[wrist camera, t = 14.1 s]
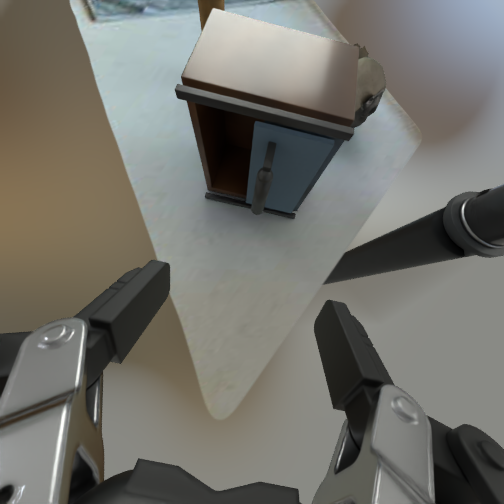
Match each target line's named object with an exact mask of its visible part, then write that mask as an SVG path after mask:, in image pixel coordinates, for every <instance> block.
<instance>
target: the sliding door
mask: <svg viewBox="0 0 504 504" xmlns="http://www.w3.org/2000/svg"><path fill="white" fill-rule="evenodd" d="M333 146H334V140H331V139H327V138H323V137H319V136H315V135H311V134H307V133H303V132H299V131H295V130H291V129H287V128H283V127H279V126H275V125H271V124H267V123H263V122H259V121H255V124H254V132H253V141H252V151H251V160H250V169H249V178H248V188H247V197H246V203H249V204H252V206H251V211H252V213H253V214H255V215H259V214H261V213H262V212H263V209H264V207H266V208H270V209H275V210H279V211H283V212H287V213H292V211H293V210H294V208H295V206H296V205H297V203H298V202H299V200H300V198H301V197H302V195H303V194H304V192H305V191H306V189H307V187H308V186H309V184H310V183H311V181H312V179H313V178H314V176H315V175H316V173H317V172H318V170H319V168H320V167H321V165H322V164H323V162H324V160H325V159H326V157H327V156H328V154H329V153H330V151H331V149H332V148H333Z"/></svg>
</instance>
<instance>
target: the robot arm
mask: <svg viewBox="0 0 504 504" xmlns="http://www.w3.org/2000/svg"><path fill="white" fill-rule="evenodd" d="M477 194H479V195H477ZM477 194H475V195H477V196H473V197H471V198H469V199H466V200H465V201H464V202H463V203H462V204H461V206H460V208H459V218H460V222H461V224H462V226H463V228H464V230H465V231H466V233H467V234H468V235H469V236H470V237H471V238H472V239H473V240H475V241H476V242H477V243H479V244H481V245H483V246H485V247H488V248H494V249H495V248H502V247H504V184H502V185H500V186H497V187H495V188H493V189H487V190H484V191H482V192H479V193H477ZM169 291H170V265H169V263H165V262H161V261H156V260H151V261H150V262H149V263H148V264H146V265H145V266H144V267H143V268H136V269H134V270H131V271H129V272H127V273H125V274H124V275H123V276H122V277H121V278H119V279H118V280H117V282H115V283H114V284H112V285H111V286H110V287H109V289H106V290H105V291H104V292H103V293H102V294H100V295H99V296H98V297H97V298H96V299H94V300H93V301H92V302H91V303H90V304H89V305H88V306H86V307H85V308H84V309H82V310H81V311H80V312H79V313H78V314H77V315H75V316H74V317H73V318H63V319H59V320H55V321H52V322H49V323H47V324H45V325H43V326H41V327H39V328H38V329H36V330H35V331H32V332H19V333H4V334H0V504H301V503H300V502H299V491H298V489H295V488H290V487H285V486H280V485H275V484H269V483H264V482H256V483H252V484H248V485H244V486H240V487H235V488H231V489H227V490H223V491H215V490H213V489H211V488H210V487H208V486H207V485H205V484H204V483H202V482H201V481H200V480H198V479H197V478H195V477H194V476H192V475H191V474H189V473H188V472H186V471H185V470H183V469H182V468H181V467H179V466H175V465H170V464H165V463H160V462H154V461H149V460H144V459H138V460H137V463H136V465H135V467H134V469H133V470H128V471H125V472H122V473H120V474H117V475H115V476H113V477H111V478H109V479H107V480H105V481H104V447H103V440H102V397H103V370H104V369H105V368H106V366H107V365H108V364H109V362H115V363H120V364H121V363H122V361H123V360H124V359H125V357H126V356H127V354H128V353H129V352H130V350H131V349H132V347H133V346H134V344H135V343H136V341H137V340H138V339H139V337H140V336H141V334H142V333H143V332H144V330H145V329H146V327H147V326H148V324H149V323H150V322H151V320H152V319H153V317H154V316H155V314H156V313H157V312H158V310H159V309H160V307H161V306H162V305H163V303H164V302H165V300H166V299H167V297H168V294H169ZM314 333H315V337H316V341H317V345H318V349H319V352H320V357H321V361H322V365H323V369H324V373H325V376H326V381H327V385H328V389H329V392H330V397H331V401H332V405H333V409H337V410H342V411H345V413H346V416H347V419H346V420H345V421H344V423H343V426H342V430H341V433H340V436H339V439H338V442H337V445H336V448H335V451H334V454H333V457H332V460H331V463H330V466H329V469H328V472H327V475H326V477H325V479H324V480H323V482H322V483H321V485H320V486H319V488H318V490H317V492H316V494H315V496H314V499H313V501H312V504H504V449H503V448H502V447H501V446H500V445H499V444H498V443H497V442H495V441H494V440H493V439H492V438H491V437H490V436H488V435H487V434H486V433H484V432H483V431H481V430H479V429H478V428H476V427H474V426H471V425H467V424H463V425H461V426H459V427H457V428H455V429H451V428H449V427H448V426H445V425H444V424H442V423H440V422H438V421H436V420H434V419H433V418H431V417H429V416H427V415H426V414H425V412H424V411H423V409H422V408H421V406H420V405H419V404H418V403H417V402H416V401H415V400H414V399H413V398H412V397H411V396H410V395H409V394H408V393H407V392H405V391H404V390H402V389H401V388H399V387H397V386H395V385H394V383H393V381H392V380H391V378H390V376H389V374H388V372H387V370H386V368H385V367H384V365H383V363H382V361H381V359H380V357H379V355H378V354H377V352H376V350H375V348H374V347H373V344H372V342H371V341H370V339H369V338H368V335H367V333H366V331H365V330H364V327H363V326H362V325H361V323H360V322H359V321H358V320H357V319H356V318H355V317H354V316H352V315H351V314H350V312H349V310H348V308H347V306H346V304H344V303H342V302H337V301H333V300H327V301H326V302H325V304H324V306H323V308H322V310H321V311H320V313H319V315H318V316H317V318H316V320H315V324H314Z"/></svg>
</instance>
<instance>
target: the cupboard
mask: <svg viewBox="0 0 504 504" xmlns="http://www.w3.org/2000/svg"><path fill="white" fill-rule="evenodd" d="M358 60H359V47H358V46H354V45H350V44H347V43H343V42H339V41H335V40H331V39H328V38H324V37H320V36H316V35H313V34H309V33H305V32H301V31H298V30H294V29H290V28H286V27H283V26H279V25H275V24H271V23H268V22H264V21H260V20H256V19H252V18H249V17H245V16H241V15H237V14H234V13H230V12H226V11H222V10H219V9H215V8H213V9H212V11H211V13H210V15H209V17H208V20H207V22H206V24H205V26H204V28H203V30H202V33H201V35H200V37H199V39H198V41H197V43H196V45H195V48H194V50H193V52H192V54H191V56H190V58H189V61H188V63H187V65H186V67H185V69H184V71H183V73H182V76H181V78H182V83H183V85H180V84H177V86H176V88H175V92H176V95H177V98H178V99H182V100H186V101H187V104H188V108H189V112H190V116H191V121H192V125H193V129H194V133H195V137H196V141H197V146H198V150H199V154H200V158H201V162H202V166H203V171H204V175H205V179H206V183H207V187H208V190H210V191H214V192H218V193H222V194H227V195H231V196H235V197H239V198H243V199H246V197H247V188H248V178H249V169H250V160H251V151H252V141H253V132H254V124H255V121H259V122H263V123H267V124H271V125H275V126H279V127H283V128H287V129H291V130H295V131H299V132H303V133H307V134H311V135H315V136H319V137H323V138H327V139H331V140H334V146H333V148H332V149H331V151H330V153H329V154H328V156H327V157H326V159H325V160H324V162H323V164H322V165H321V167H320V168H319V170H318V172H317V173H316V175H315V176H314V178H313V179H312V181H311V183H310V184H309V186H308V187H307V189H306V191H305V192H304V194H303V195H302V197H301V198H300V200H299V202H298V203H297V205H296V206H295V208H294V211H297V210H298V208H299V207H300V205H301V204H302V202H303V201H304V199H305V198H306V196H307V195H308V193H309V192H310V190H311V189H312V188H313V186H314V185H315V183H316V182H317V180H318V179H319V177H320V176H321V174H322V173H323V171H324V170H325V168H326V167H327V165H328V164H329V162H330V161H331V159H332V158H333V156H334V155H335V153H336V152H337V151H338V149H339V148H340V146H341V145H342V143H343V142H344V140H346V141H349V140H350V139H351V137H352V136H353V134H354V128H351V127H350V126H351V125H352V123H353V122H354V118H355V104H356V89H357V74H358ZM205 198H207V199H211V200H216V201H220V202H224V203H229V204H233V205H237V206H241V207H246V208H250V209H251V206H252V204H249V203H246V202H245V201H240V200H236V199H232V198H228V197H223V196H219V195H215V194H211V193H206V194H205ZM263 212H267V213H271V214H275V215H280V216H284V217H288V218H292V219H294V218H295V215H296V214H295V213H287V212H283V211H279V210H275V209H270V208H266V207H264V209H263Z"/></svg>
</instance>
